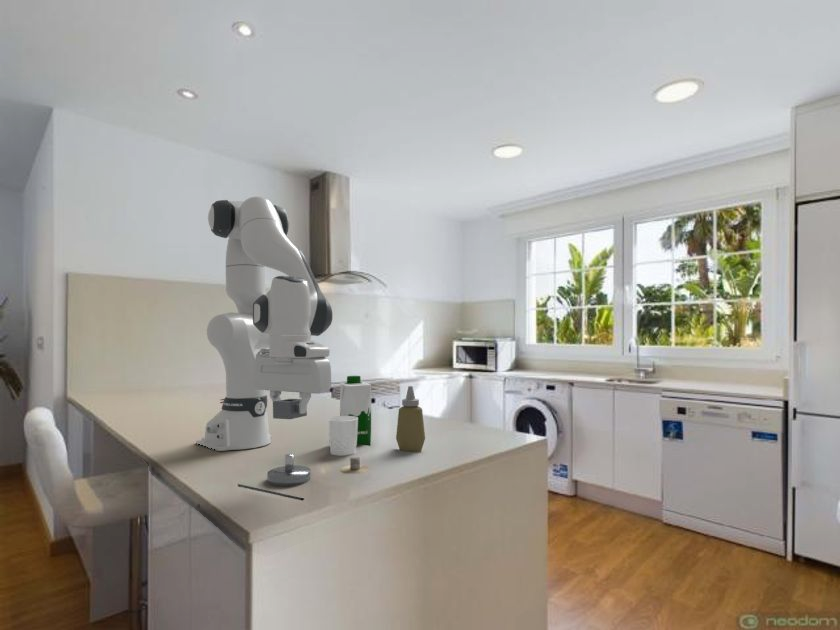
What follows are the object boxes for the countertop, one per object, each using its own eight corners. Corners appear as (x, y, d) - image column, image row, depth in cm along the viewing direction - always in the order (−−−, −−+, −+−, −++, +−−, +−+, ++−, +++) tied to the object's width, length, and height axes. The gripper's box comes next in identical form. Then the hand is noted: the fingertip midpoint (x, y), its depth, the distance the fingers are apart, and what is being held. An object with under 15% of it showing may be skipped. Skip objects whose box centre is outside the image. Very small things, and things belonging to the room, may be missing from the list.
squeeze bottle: (391, 453, 123) (391, 387, 123) (403, 447, 130) (403, 384, 131) (418, 456, 120) (418, 388, 120) (429, 449, 127) (429, 385, 128)
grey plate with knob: (237, 486, 97) (238, 456, 97) (279, 471, 107) (279, 444, 108) (301, 500, 88) (301, 467, 89) (339, 482, 99) (339, 453, 99)
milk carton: (365, 440, 138) (365, 375, 139) (374, 447, 130) (374, 377, 131) (337, 443, 135) (337, 376, 136) (344, 450, 127) (344, 378, 128)
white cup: (352, 460, 116) (352, 421, 117) (323, 459, 118) (323, 420, 118) (362, 452, 124) (362, 416, 124) (335, 451, 126) (335, 415, 126)
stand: (333, 475, 104) (333, 459, 104) (351, 467, 110) (351, 452, 110) (358, 479, 101) (358, 463, 101) (375, 471, 107) (375, 456, 107)
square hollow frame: (273, 418, 97) (272, 401, 98) (289, 414, 102) (289, 398, 102) (290, 419, 95) (289, 402, 95) (306, 415, 99) (306, 399, 100)
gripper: (245, 349, 101) (245, 411, 101) (315, 349, 92) (315, 418, 91) (267, 348, 107) (266, 407, 106) (335, 348, 97) (335, 413, 97)
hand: (290, 412), depth 99 cm, fingers closed on square hollow frame, 5 cm apart
